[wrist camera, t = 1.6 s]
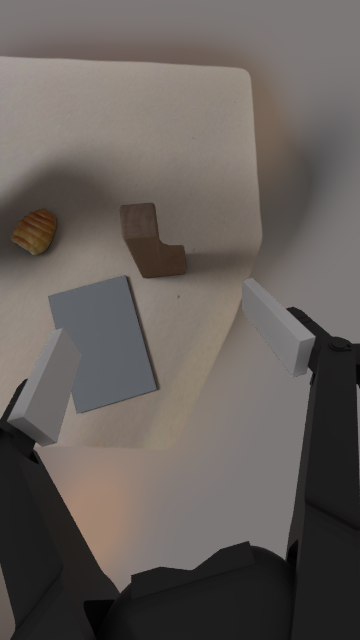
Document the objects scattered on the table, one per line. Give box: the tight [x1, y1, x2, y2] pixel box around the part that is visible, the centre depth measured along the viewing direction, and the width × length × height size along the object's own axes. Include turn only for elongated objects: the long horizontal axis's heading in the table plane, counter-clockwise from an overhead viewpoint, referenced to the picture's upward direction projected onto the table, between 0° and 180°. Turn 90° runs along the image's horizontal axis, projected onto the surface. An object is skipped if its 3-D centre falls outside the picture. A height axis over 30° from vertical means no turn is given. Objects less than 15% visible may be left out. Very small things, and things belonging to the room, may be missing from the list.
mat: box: [48, 275, 157, 414], centre depth 43 cm, size 24×16×1 cm, turn 16°
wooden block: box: [120, 203, 186, 278], centre depth 36 cm, size 9×4×18 cm, turn 97°
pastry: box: [11, 209, 56, 255], centre depth 43 cm, size 9×7×4 cm
